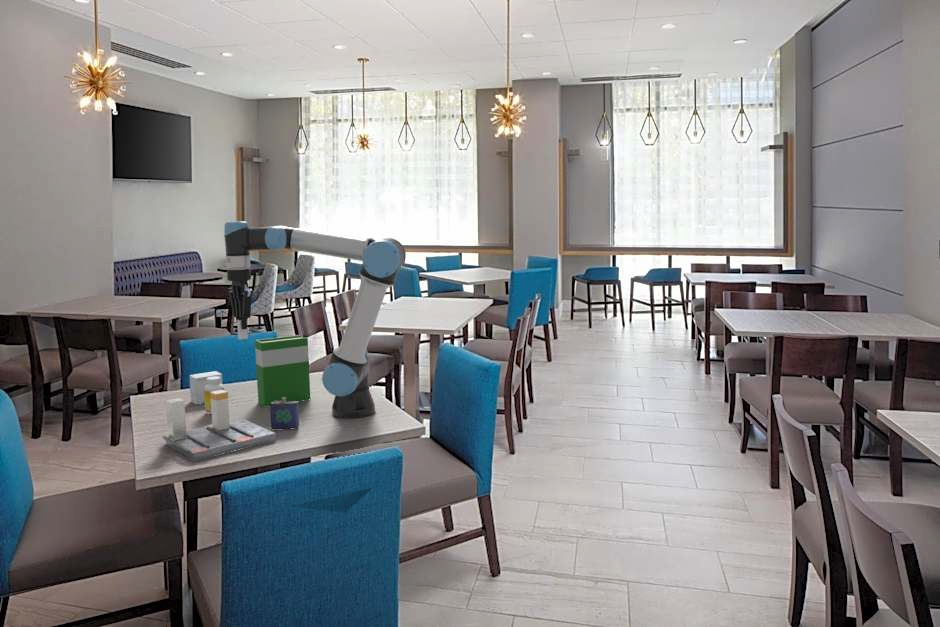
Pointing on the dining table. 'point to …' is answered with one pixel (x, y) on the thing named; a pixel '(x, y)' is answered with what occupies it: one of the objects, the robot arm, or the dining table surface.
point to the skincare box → (200, 385)
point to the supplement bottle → (211, 386)
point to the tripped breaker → (219, 410)
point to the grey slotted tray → (210, 435)
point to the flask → (284, 414)
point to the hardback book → (282, 369)
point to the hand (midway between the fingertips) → (243, 338)
